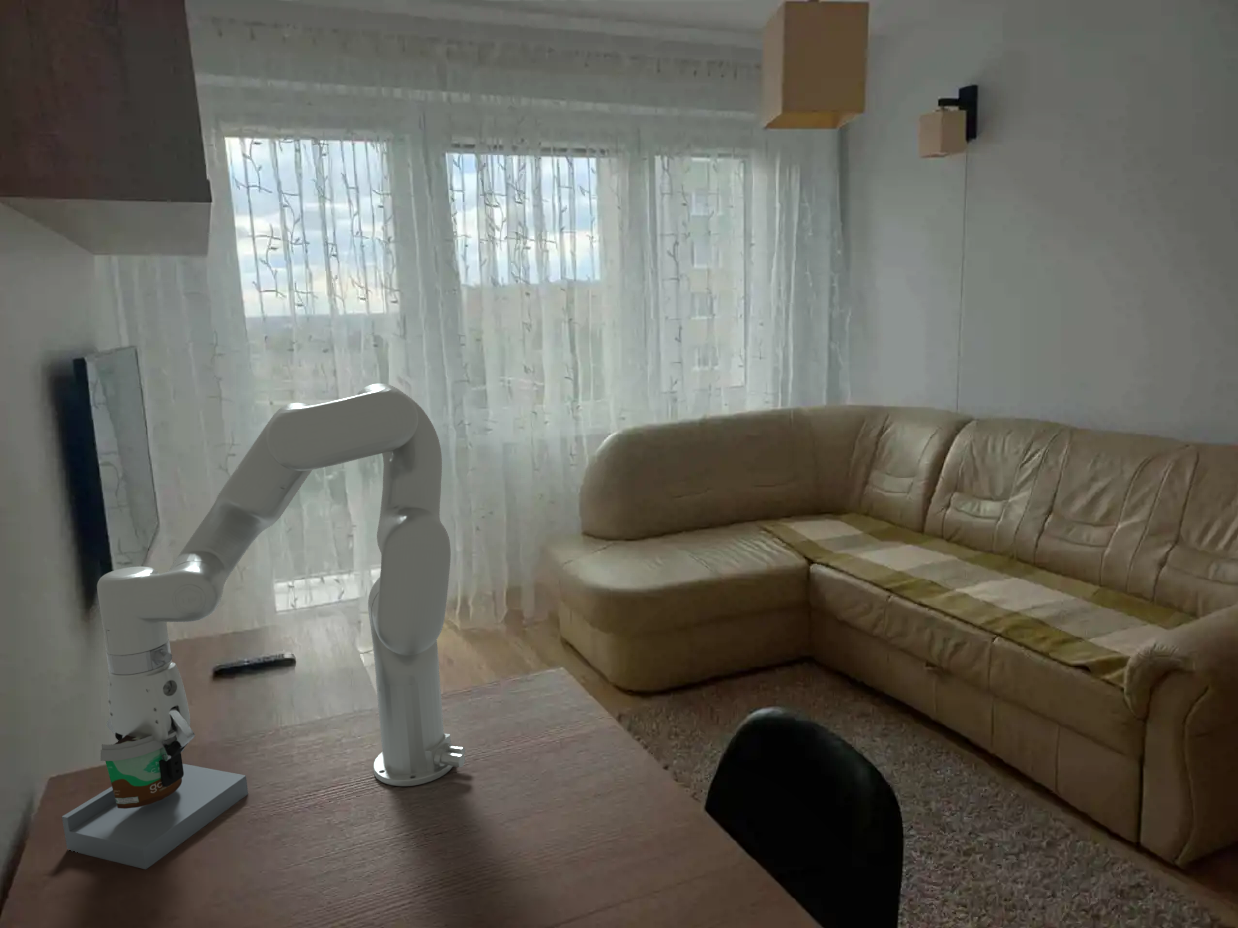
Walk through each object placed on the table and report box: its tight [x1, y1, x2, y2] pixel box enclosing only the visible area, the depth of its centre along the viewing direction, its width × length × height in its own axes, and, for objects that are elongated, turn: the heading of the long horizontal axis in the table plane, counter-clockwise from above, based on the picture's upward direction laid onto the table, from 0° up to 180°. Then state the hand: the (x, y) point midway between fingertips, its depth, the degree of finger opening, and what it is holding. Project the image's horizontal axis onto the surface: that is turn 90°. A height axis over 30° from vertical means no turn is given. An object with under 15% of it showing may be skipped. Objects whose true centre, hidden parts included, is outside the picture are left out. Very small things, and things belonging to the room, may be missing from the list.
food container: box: [99, 727, 182, 809], centre depth 117 cm, size 12×6×10 cm, turn 167°
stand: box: [61, 763, 249, 870], centre depth 119 cm, size 14×18×5 cm
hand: (156, 777), depth 118 cm, fingers closed on food container, 5 cm apart
